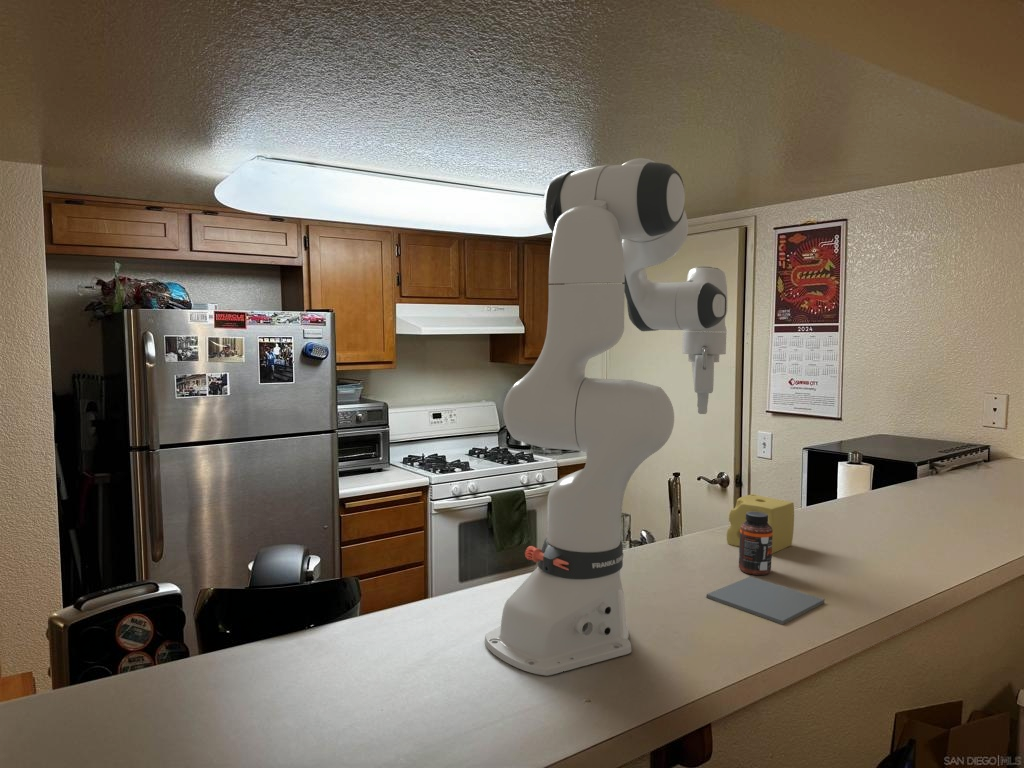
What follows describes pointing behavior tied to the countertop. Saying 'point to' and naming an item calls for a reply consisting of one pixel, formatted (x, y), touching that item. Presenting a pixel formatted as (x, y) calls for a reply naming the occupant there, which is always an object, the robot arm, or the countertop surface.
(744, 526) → the supplement bottle
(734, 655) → the countertop surface
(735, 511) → the cheese
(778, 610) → the mat
